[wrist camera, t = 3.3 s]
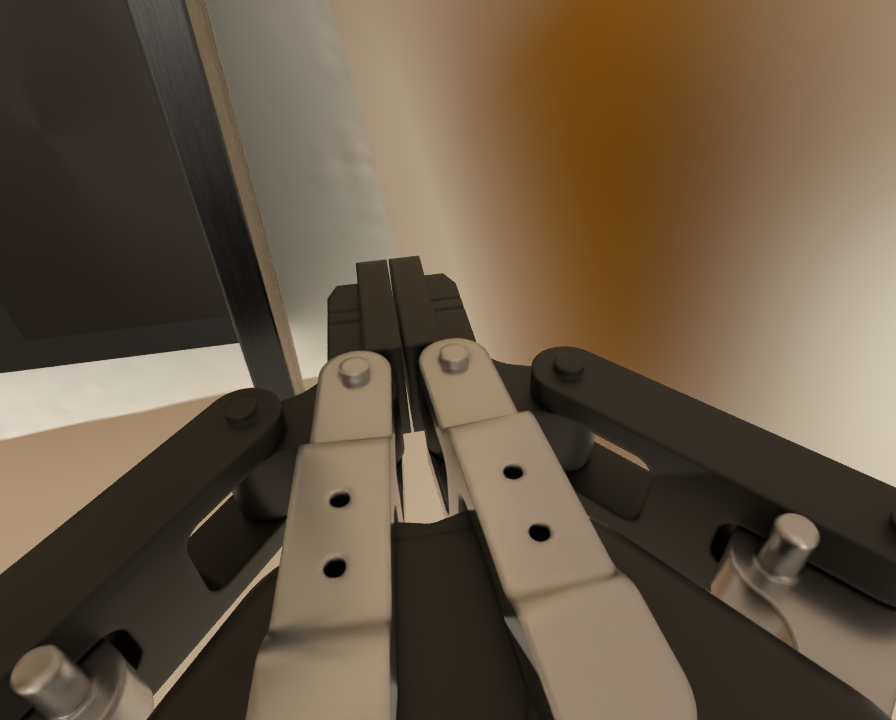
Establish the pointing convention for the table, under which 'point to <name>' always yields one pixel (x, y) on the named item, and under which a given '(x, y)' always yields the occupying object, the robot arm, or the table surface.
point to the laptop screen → (218, 181)
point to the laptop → (93, 198)
